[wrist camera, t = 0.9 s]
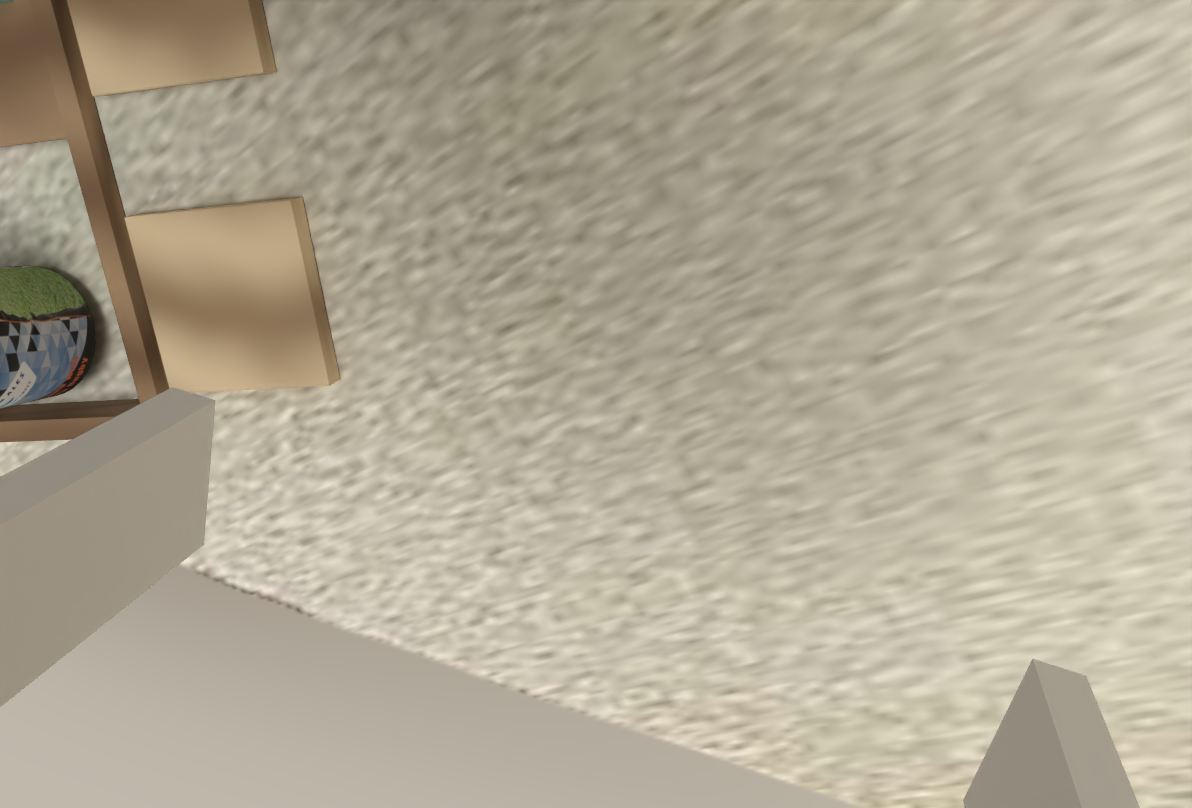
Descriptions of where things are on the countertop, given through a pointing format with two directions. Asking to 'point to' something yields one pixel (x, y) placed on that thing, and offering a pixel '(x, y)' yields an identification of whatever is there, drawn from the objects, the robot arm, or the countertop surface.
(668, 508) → the countertop surface
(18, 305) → the beverage can
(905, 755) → the countertop surface
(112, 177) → the wooden frame with block
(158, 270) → the broken strip
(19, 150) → the countertop surface
